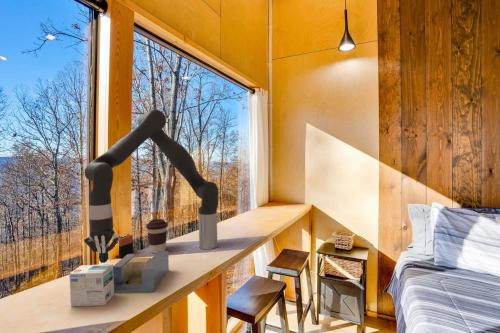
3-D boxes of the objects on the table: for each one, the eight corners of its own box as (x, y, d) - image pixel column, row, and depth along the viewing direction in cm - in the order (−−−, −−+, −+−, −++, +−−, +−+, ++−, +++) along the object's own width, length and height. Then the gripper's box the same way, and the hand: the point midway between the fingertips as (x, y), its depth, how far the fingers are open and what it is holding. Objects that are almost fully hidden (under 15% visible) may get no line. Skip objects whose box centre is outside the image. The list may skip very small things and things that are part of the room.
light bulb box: (115, 294, 89) (113, 263, 89) (104, 306, 83) (103, 272, 82) (82, 295, 89) (81, 264, 89) (69, 307, 82) (68, 273, 82)
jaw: (120, 273, 105) (120, 254, 105) (137, 273, 105) (136, 253, 105) (104, 289, 93) (103, 267, 93) (123, 288, 93) (122, 266, 93)
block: (133, 278, 101) (132, 258, 101) (151, 278, 101) (150, 257, 101) (128, 283, 97) (127, 262, 97) (147, 283, 97) (146, 261, 97)
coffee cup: (161, 255, 124) (160, 223, 123) (142, 254, 126) (141, 222, 125) (172, 247, 134) (171, 218, 133) (154, 246, 136) (153, 217, 135)
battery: (115, 257, 123) (114, 235, 122) (127, 252, 129) (127, 232, 128) (121, 258, 121) (120, 237, 120) (133, 253, 127) (133, 233, 126)
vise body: (104, 271, 107) (103, 252, 107) (168, 270, 107) (168, 251, 107) (77, 293, 90) (76, 270, 90) (153, 292, 91) (153, 269, 90)
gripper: (123, 213, 102) (126, 257, 103) (89, 214, 102) (92, 258, 103) (114, 218, 94) (116, 265, 95) (76, 219, 94) (79, 266, 95)
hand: (103, 261), depth 99 cm, fingers closed
